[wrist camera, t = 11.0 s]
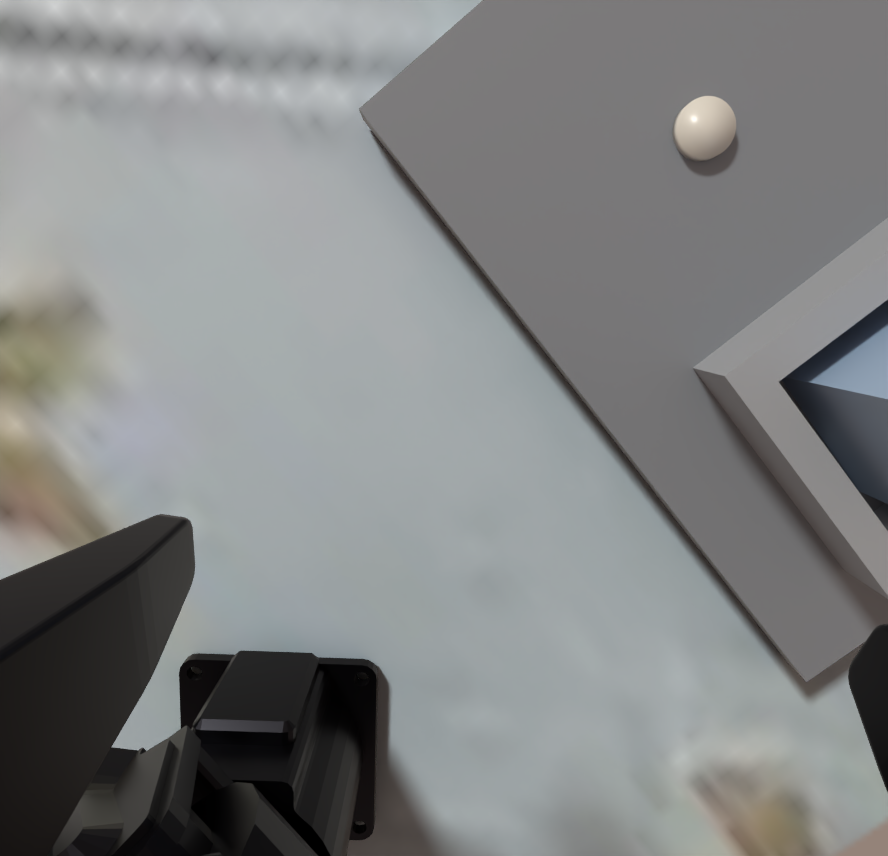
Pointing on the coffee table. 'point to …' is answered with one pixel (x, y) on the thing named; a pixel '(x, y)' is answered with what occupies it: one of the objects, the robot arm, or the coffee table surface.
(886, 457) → the block
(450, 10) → the coffee table surface
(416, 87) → the plate
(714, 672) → the coffee table surface
